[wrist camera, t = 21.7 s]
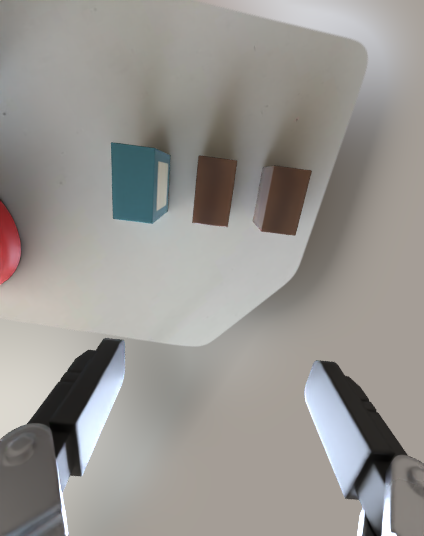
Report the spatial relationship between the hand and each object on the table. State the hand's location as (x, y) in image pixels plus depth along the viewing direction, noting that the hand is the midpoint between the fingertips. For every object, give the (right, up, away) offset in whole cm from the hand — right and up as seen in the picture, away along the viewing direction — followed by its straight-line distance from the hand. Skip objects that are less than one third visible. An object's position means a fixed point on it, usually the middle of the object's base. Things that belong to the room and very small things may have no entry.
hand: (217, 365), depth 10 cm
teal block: (-9, +17, +26) cm, 32 cm away
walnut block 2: (+9, +15, +26) cm, 32 cm away
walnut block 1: (0, +16, +26) cm, 31 cm away
